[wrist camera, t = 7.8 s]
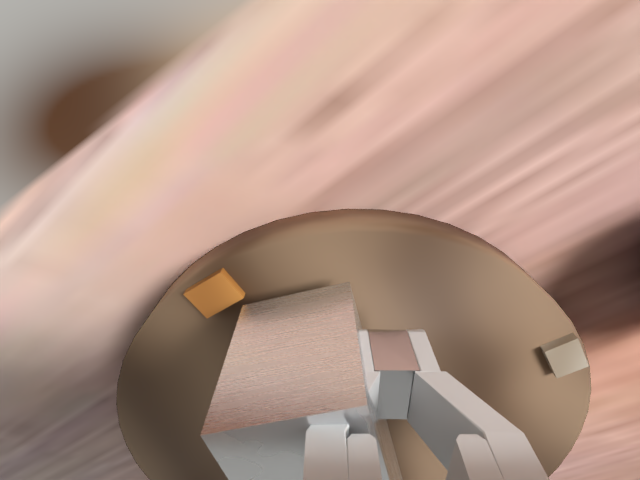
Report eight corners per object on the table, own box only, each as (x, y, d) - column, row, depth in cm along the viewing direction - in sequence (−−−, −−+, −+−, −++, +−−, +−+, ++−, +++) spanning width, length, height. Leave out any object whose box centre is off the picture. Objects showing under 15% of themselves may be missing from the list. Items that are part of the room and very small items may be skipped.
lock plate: (460, 95, 11) (499, 102, 9) (604, 438, 18) (646, 492, 16) (45, 352, 16) (-4, 402, 13) (294, 543, 23) (291, 596, 21)
